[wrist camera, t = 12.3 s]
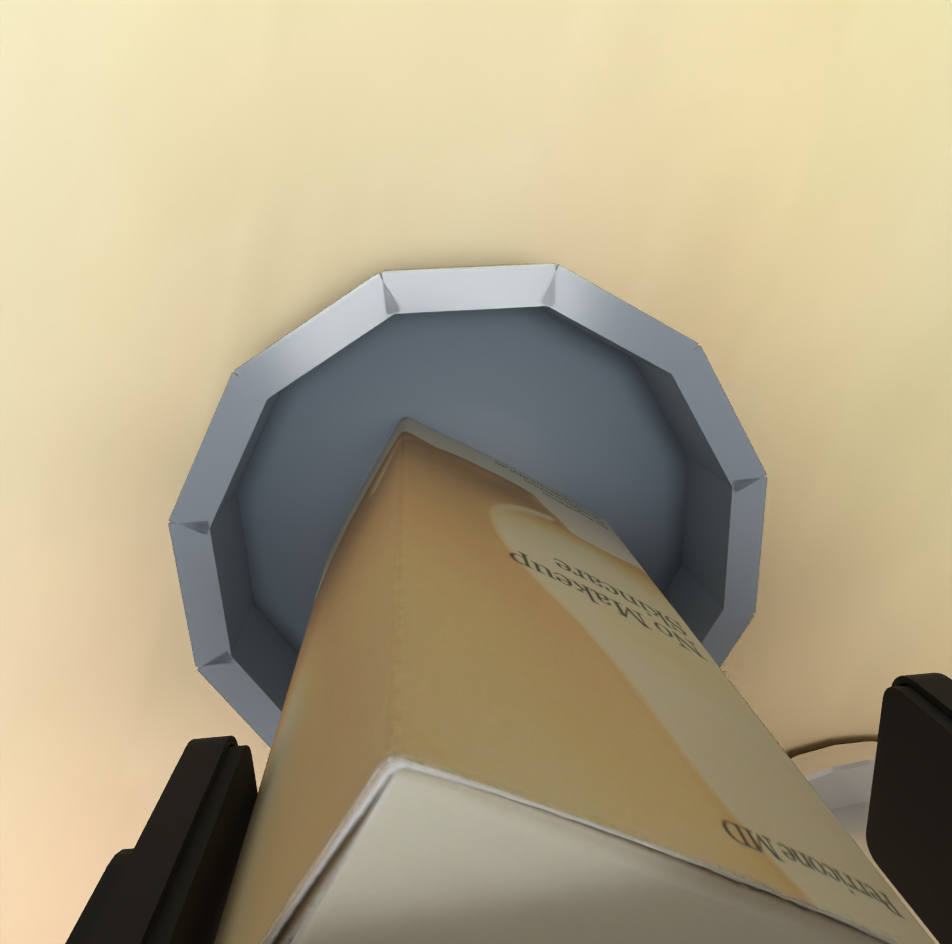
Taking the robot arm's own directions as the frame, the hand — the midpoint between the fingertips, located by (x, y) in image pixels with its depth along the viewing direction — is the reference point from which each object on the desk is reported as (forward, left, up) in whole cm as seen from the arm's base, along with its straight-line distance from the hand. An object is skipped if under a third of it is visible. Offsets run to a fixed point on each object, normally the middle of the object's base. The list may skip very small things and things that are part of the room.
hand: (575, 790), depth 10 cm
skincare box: (+1, -1, -9) cm, 9 cm away
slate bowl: (+1, -1, -9) cm, 9 cm away
